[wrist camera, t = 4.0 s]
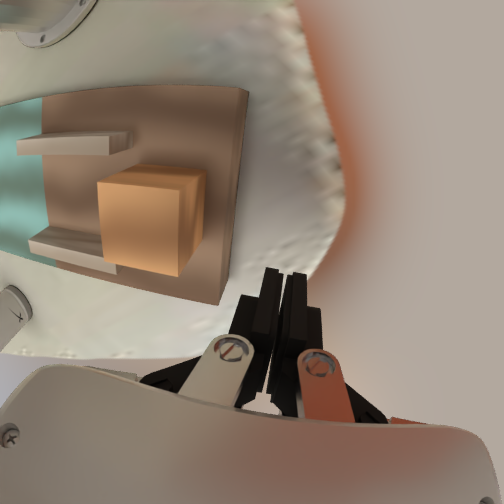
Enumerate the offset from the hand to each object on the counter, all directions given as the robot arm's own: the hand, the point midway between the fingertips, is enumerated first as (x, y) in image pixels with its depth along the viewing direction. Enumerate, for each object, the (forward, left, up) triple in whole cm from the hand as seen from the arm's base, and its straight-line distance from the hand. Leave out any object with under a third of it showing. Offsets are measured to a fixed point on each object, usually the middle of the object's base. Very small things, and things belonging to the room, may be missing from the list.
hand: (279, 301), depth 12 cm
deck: (0, -25, -12) cm, 27 cm away
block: (0, -8, -8) cm, 12 cm away
